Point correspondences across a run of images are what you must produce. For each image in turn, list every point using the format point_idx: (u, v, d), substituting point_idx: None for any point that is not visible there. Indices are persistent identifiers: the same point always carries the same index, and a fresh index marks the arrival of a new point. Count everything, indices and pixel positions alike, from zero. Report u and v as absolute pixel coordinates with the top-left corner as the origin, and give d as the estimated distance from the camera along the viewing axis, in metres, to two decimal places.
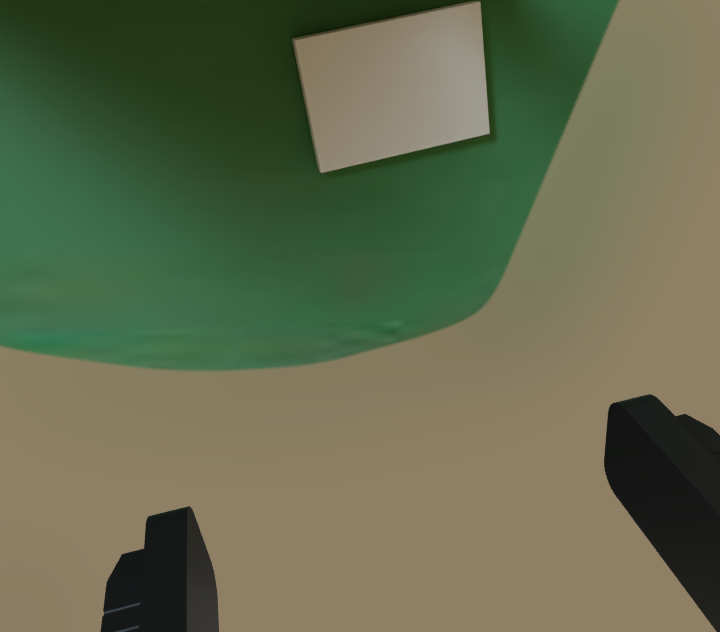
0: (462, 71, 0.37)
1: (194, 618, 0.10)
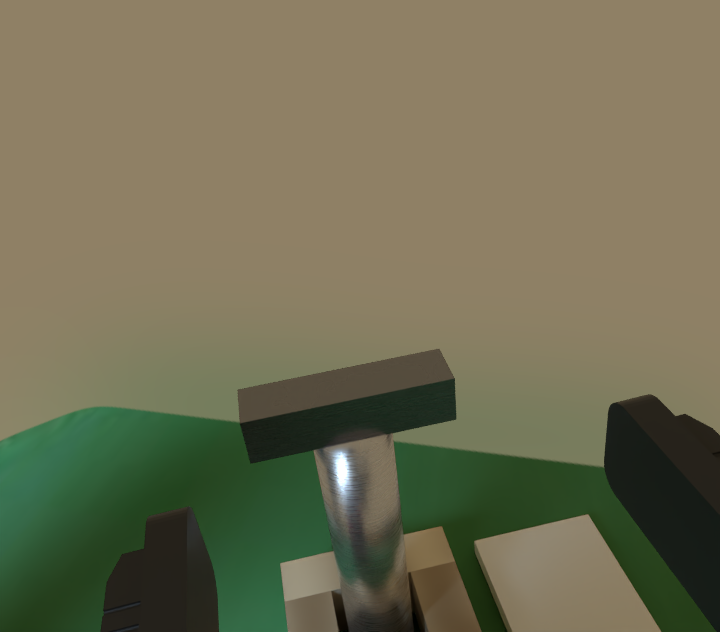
0: (537, 545, 0.39)
1: (194, 618, 0.10)
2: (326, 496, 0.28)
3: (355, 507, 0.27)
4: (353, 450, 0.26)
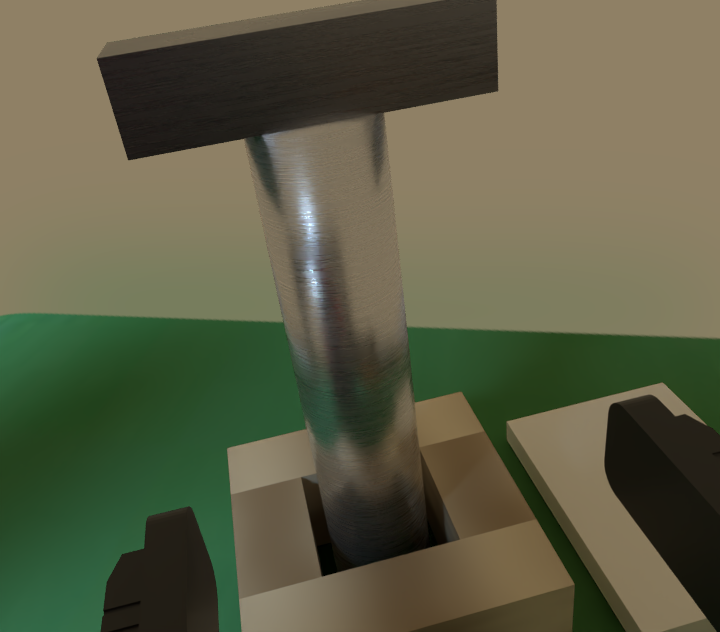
0: (596, 422, 0.27)
1: (194, 618, 0.10)
2: (275, 254, 0.16)
3: (324, 261, 0.15)
4: (316, 131, 0.14)
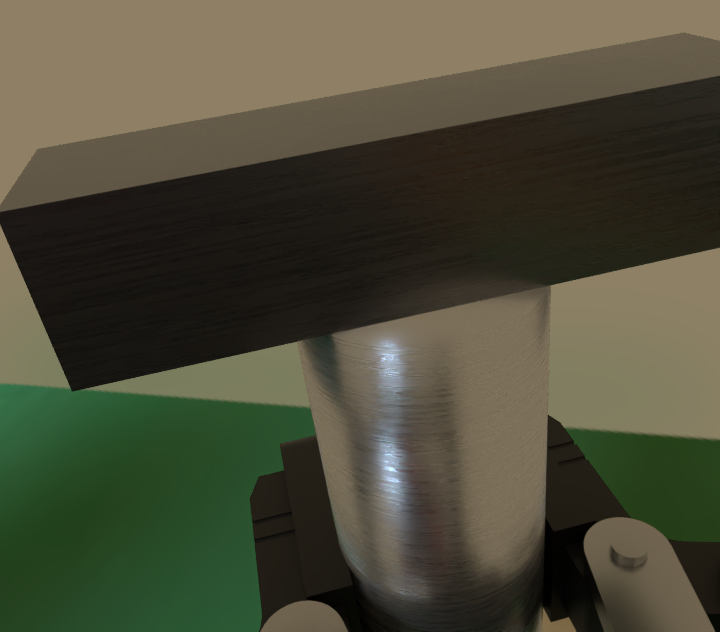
0: None
1: None
2: (343, 504, 0.09)
3: (436, 534, 0.09)
4: (442, 333, 0.07)
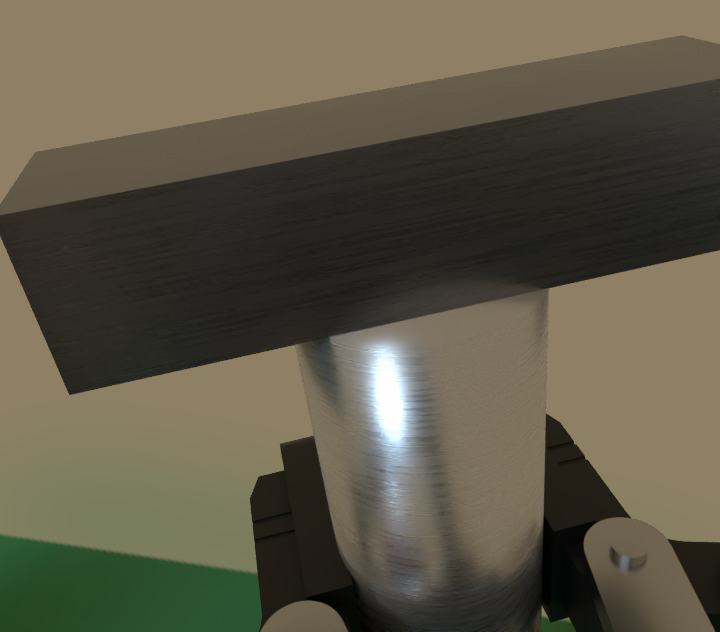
0: None
1: None
2: (341, 507, 0.09)
3: (433, 538, 0.09)
4: (439, 337, 0.07)
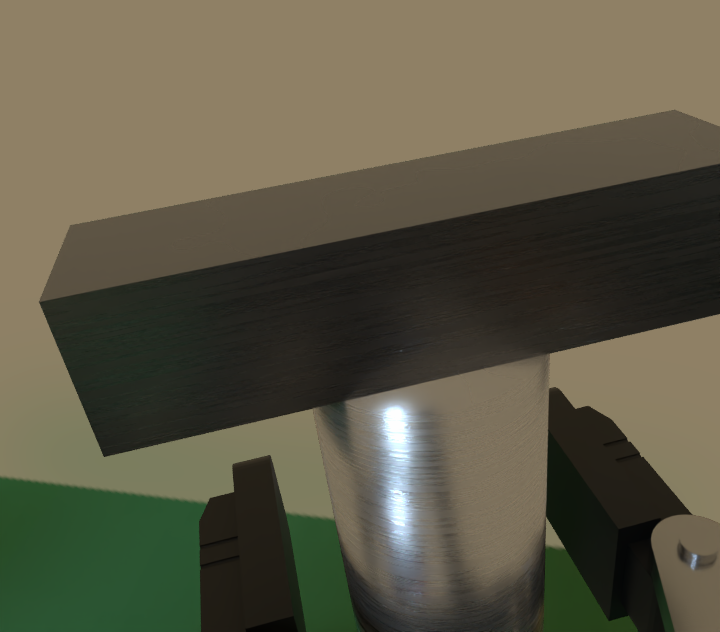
0: None
1: (286, 551, 0.11)
2: (353, 552, 0.10)
3: (441, 583, 0.09)
4: (448, 402, 0.08)
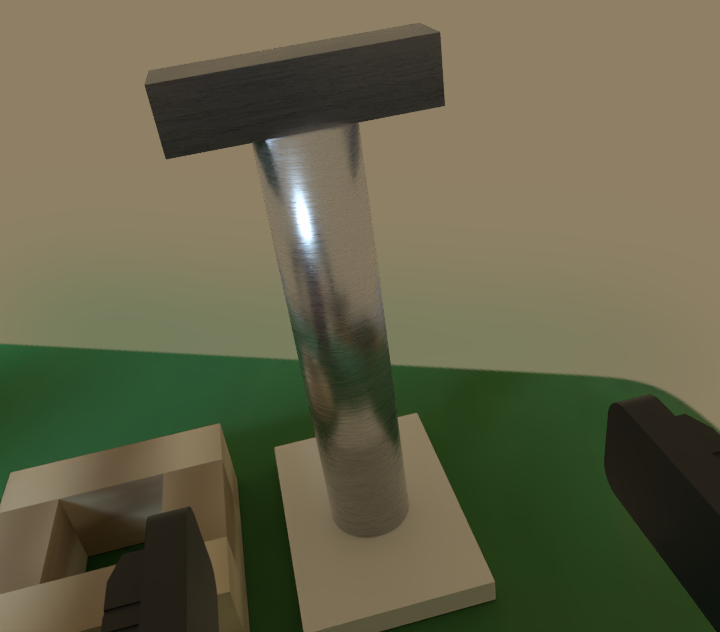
0: None
1: (194, 618, 0.10)
2: (276, 232, 0.21)
3: (313, 235, 0.20)
4: (306, 137, 0.19)
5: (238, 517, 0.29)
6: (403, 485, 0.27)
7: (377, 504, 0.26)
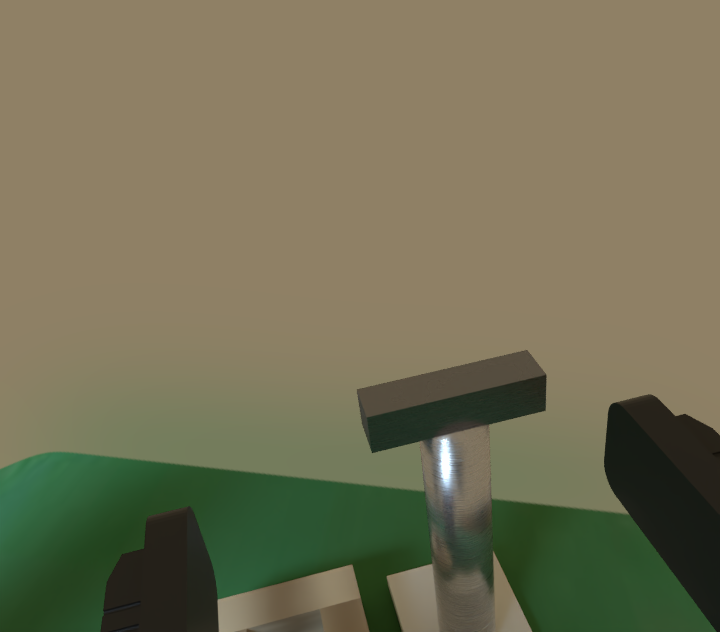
0: None
1: (194, 618, 0.10)
2: (430, 481, 0.32)
3: (458, 489, 0.31)
4: (460, 438, 0.30)
5: None
6: (494, 621, 0.38)
7: None
